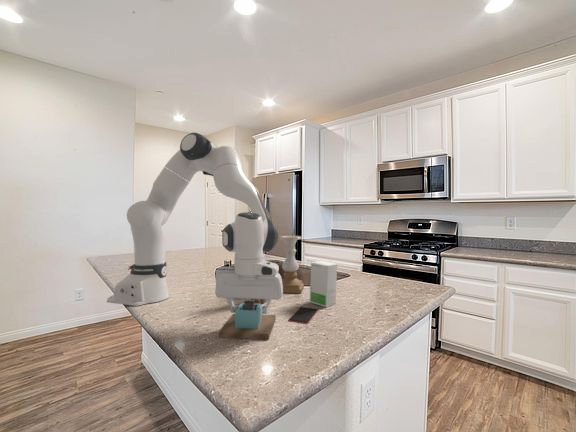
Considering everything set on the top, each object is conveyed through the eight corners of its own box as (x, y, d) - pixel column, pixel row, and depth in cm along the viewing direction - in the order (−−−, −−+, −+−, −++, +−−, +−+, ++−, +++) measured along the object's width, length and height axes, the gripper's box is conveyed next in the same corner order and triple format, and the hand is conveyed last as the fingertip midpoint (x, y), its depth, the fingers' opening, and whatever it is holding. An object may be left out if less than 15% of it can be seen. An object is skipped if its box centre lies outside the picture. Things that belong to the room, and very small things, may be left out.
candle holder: (304, 287, 130) (304, 235, 129) (301, 293, 119) (301, 237, 118) (280, 285, 132) (280, 235, 131) (275, 292, 121) (276, 237, 120)
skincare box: (309, 302, 107) (309, 262, 107) (319, 298, 112) (319, 260, 112) (327, 307, 102) (327, 265, 101) (337, 303, 107) (337, 262, 106)
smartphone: (319, 309, 100) (307, 323, 87) (319, 310, 100) (307, 325, 87) (300, 306, 103) (286, 320, 89) (300, 308, 103) (286, 322, 89)
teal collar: (235, 327, 81) (235, 310, 80) (240, 319, 87) (240, 303, 87) (258, 328, 80) (258, 311, 80) (261, 319, 87) (261, 303, 87)
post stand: (218, 337, 78) (218, 308, 78) (233, 318, 92) (233, 293, 92) (268, 339, 77) (268, 310, 76) (275, 319, 91) (275, 295, 90)
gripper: (211, 268, 82) (212, 315, 82) (281, 269, 80) (281, 317, 80) (219, 264, 88) (219, 307, 88) (283, 265, 86) (283, 310, 86)
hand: (249, 312), depth 84 cm, fingers open, 8 cm apart
